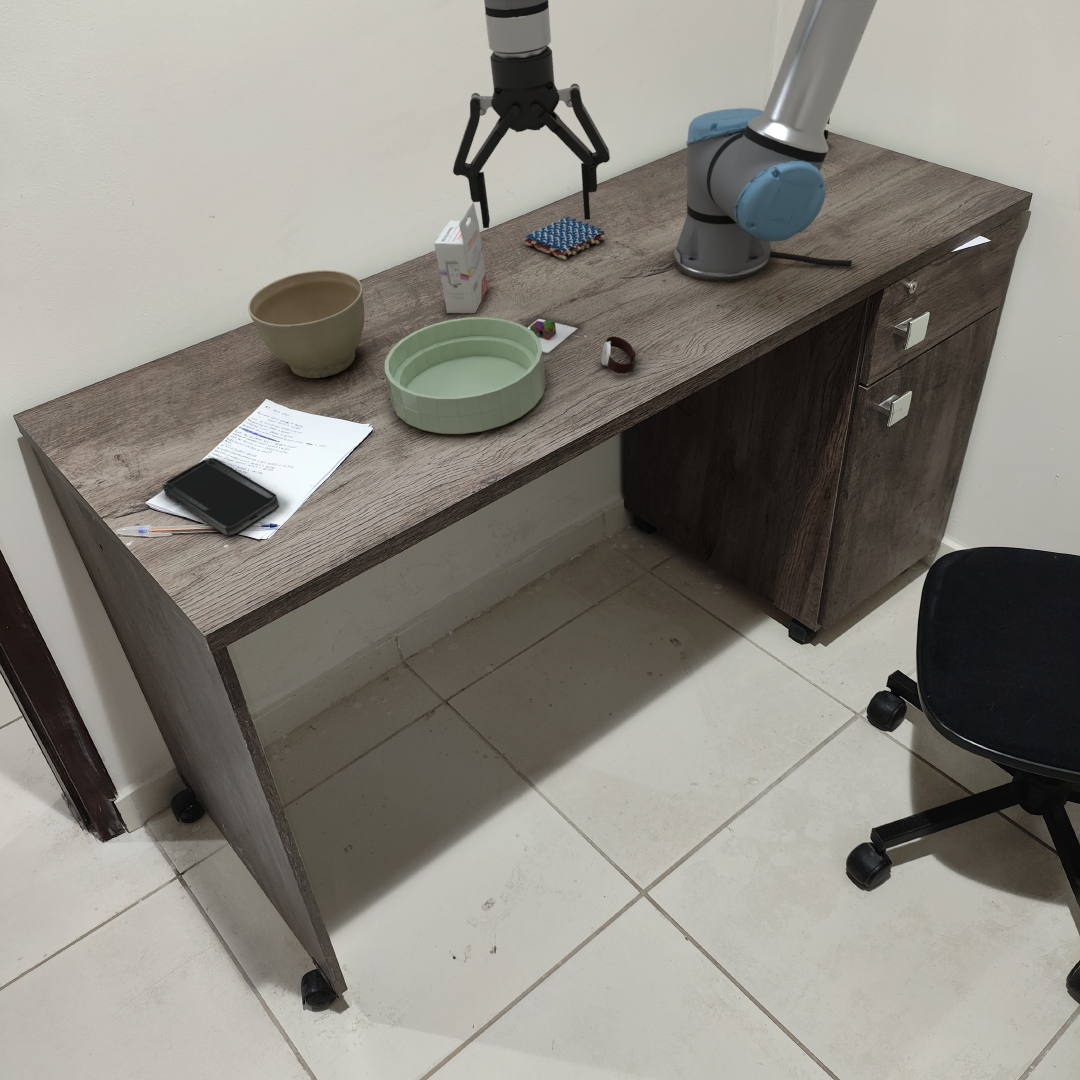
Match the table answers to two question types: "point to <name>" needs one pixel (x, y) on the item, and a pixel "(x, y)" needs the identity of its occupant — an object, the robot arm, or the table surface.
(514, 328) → the bowl
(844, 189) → the table surface
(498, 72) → the robot arm
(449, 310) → the ink cartridge box
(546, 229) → the woven mat
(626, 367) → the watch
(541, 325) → the white paper sheet
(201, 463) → the phone
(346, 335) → the planter bowl
